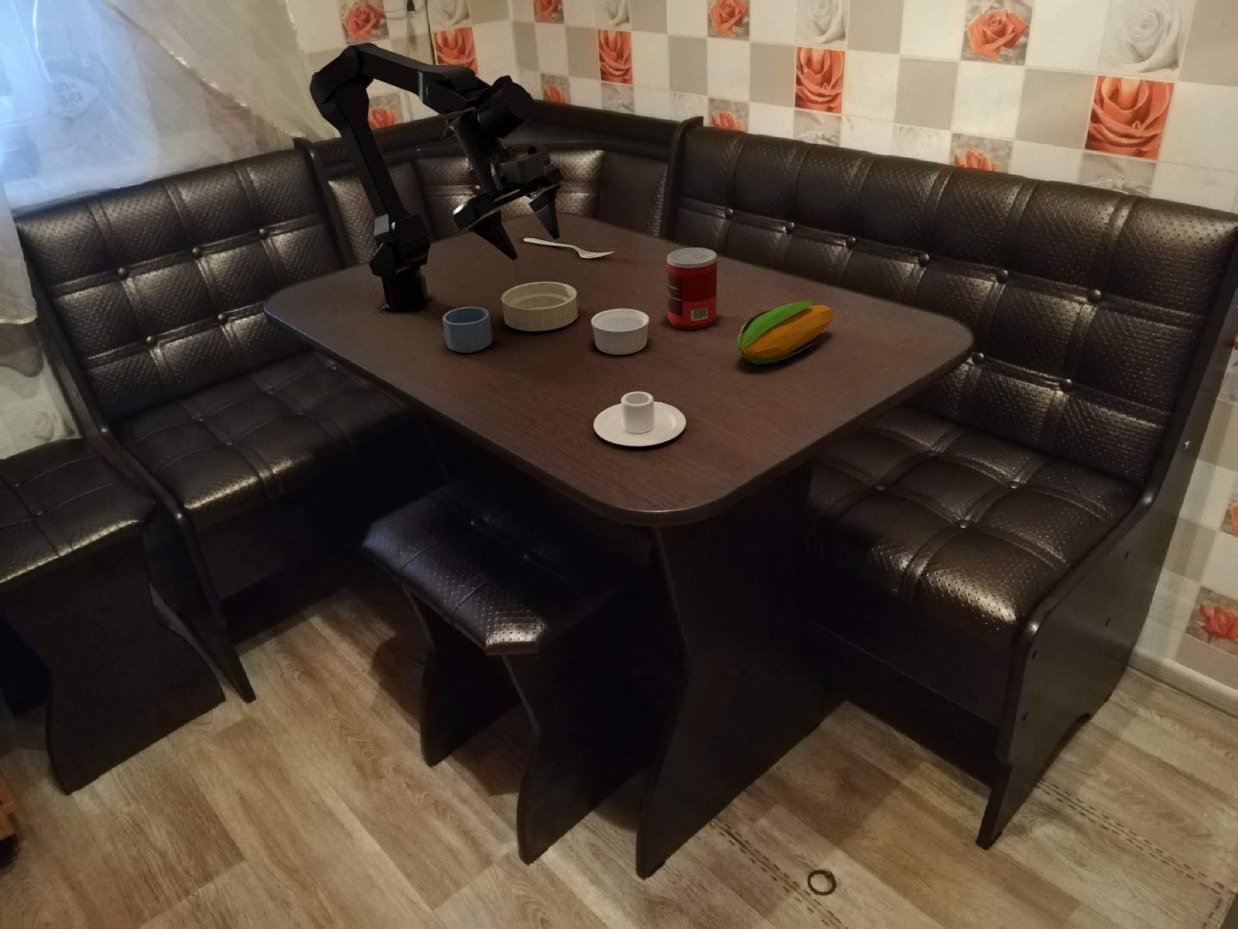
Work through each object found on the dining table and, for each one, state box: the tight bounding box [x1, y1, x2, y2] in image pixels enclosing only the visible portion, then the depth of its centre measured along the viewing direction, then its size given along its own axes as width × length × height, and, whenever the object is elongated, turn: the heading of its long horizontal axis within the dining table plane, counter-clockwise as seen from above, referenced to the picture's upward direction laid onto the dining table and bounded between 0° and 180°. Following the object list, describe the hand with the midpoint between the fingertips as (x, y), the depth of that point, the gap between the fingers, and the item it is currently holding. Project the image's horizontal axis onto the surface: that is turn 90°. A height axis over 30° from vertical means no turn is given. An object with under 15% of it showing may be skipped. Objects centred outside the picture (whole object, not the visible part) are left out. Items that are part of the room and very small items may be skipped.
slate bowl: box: [442, 306, 494, 354], centre depth 144 cm, size 7×7×5 cm
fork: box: [523, 237, 615, 259], centre depth 182 cm, size 3×24×2 cm, turn 48°
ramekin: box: [590, 308, 650, 356], centre depth 142 cm, size 9×9×4 cm
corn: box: [736, 300, 835, 366], centre depth 136 cm, size 7×8×20 cm
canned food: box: [666, 247, 718, 331], centre depth 147 cm, size 8×8×11 cm
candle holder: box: [593, 391, 687, 447], centre depth 119 cm, size 12×12×4 cm
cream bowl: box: [500, 281, 579, 332], centre depth 152 cm, size 12×12×4 cm
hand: (536, 248), depth 139 cm, fingers open, 9 cm apart
